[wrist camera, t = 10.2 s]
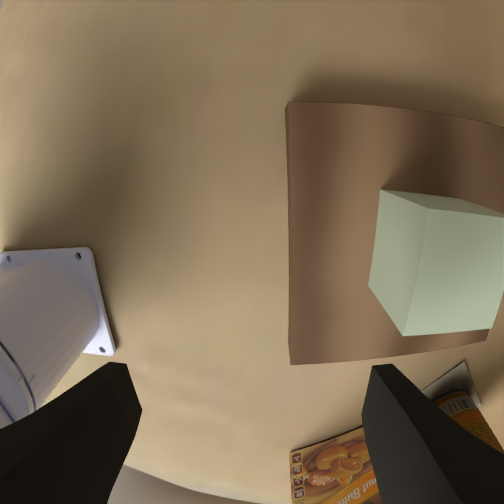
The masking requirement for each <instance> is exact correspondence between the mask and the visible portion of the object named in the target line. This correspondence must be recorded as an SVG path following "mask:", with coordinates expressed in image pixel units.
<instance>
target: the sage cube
mask: <svg viewBox="0 0 504 504" xmlns="http://www.w3.org/2000/svg"><path fill="white" fill-rule="evenodd" d="M368 286H369V287H370V289H371V290H372V292H373V293H374V294H375V296H376V297H377V299H378V300H379V302H380V303H381V305H382V306H383V308H384V309H385V310H386V312H387V313H388V315H389V316H390V318H391V319H392V321H393V322H394V324H395V325H396V327H397V328H398V330H399V331H400V333H401V334H402V336H414V335H428V334H441V333H452V332H462V331H472V330H480V329H489V328H492V326H493V323H494V320H495V317H496V314H497V311H498V308H499V305H500V302H501V299H502V295H503V292H504V214H502V213H499V212H497V211H494V210H491V209H488V208H486V207H483V206H480V205H477V204H474V203H471V202H468V201H465V200H462V199H458V198H450V197H443V196H435V195H427V194H419V193H410V192H400V191H391V190H380V196H379V207H378V217H377V226H376V234H375V242H374V250H373V257H372V264H371V270H370V277H369V283H368Z"/></svg>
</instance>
